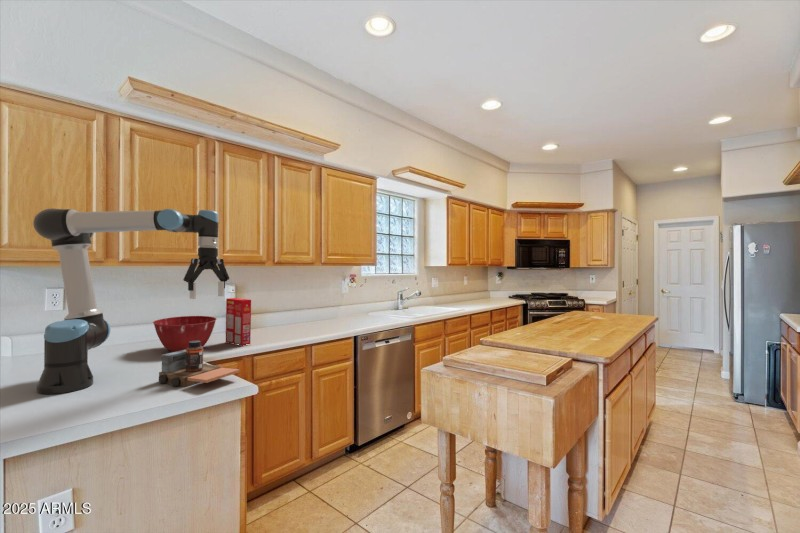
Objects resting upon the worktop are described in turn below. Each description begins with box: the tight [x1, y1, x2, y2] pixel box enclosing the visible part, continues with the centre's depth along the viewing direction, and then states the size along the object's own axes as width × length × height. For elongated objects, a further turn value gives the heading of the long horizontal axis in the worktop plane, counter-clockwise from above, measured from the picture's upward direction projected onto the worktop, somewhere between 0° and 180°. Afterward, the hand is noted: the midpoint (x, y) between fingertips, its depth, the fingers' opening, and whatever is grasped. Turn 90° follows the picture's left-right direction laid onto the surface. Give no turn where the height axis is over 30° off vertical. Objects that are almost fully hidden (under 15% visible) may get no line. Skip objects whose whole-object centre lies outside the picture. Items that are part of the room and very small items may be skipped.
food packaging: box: [225, 297, 252, 346], centre depth 210 cm, size 15×5×25 cm, turn 58°
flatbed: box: [158, 350, 222, 388], centre depth 148 cm, size 19×14×10 cm
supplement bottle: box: [186, 341, 204, 372], centre depth 147 cm, size 6×6×11 cm
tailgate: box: [187, 367, 241, 384], centre depth 142 cm, size 15×2×10 cm
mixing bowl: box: [152, 315, 218, 353], centre depth 194 cm, size 28×28×16 cm
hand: (207, 297), depth 159 cm, fingers open, 13 cm apart
